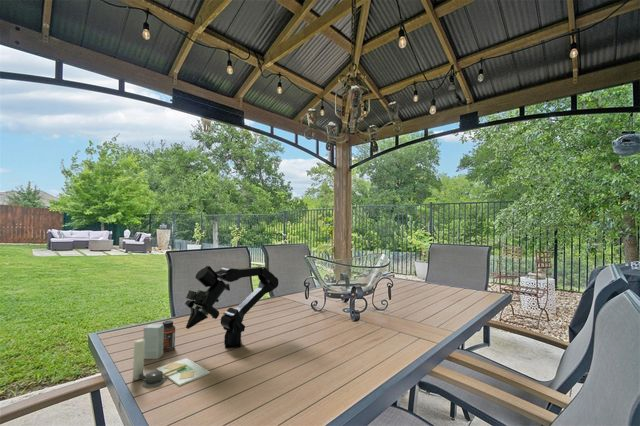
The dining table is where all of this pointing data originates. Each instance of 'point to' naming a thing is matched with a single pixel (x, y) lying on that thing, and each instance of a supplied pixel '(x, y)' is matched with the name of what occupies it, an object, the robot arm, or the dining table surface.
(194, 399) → the dining table surface
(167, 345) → the supplement bottle
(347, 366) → the dining table surface
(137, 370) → the peg dial
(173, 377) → the tuner board
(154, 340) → the skincare box
